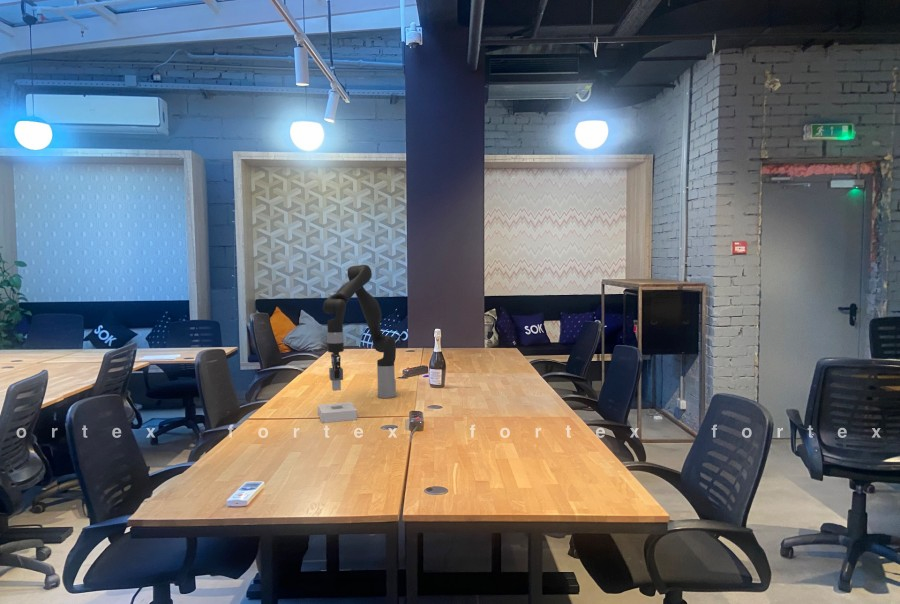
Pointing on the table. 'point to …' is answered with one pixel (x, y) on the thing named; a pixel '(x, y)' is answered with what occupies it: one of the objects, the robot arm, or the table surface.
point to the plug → (335, 382)
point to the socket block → (337, 412)
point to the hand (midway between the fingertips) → (336, 377)
